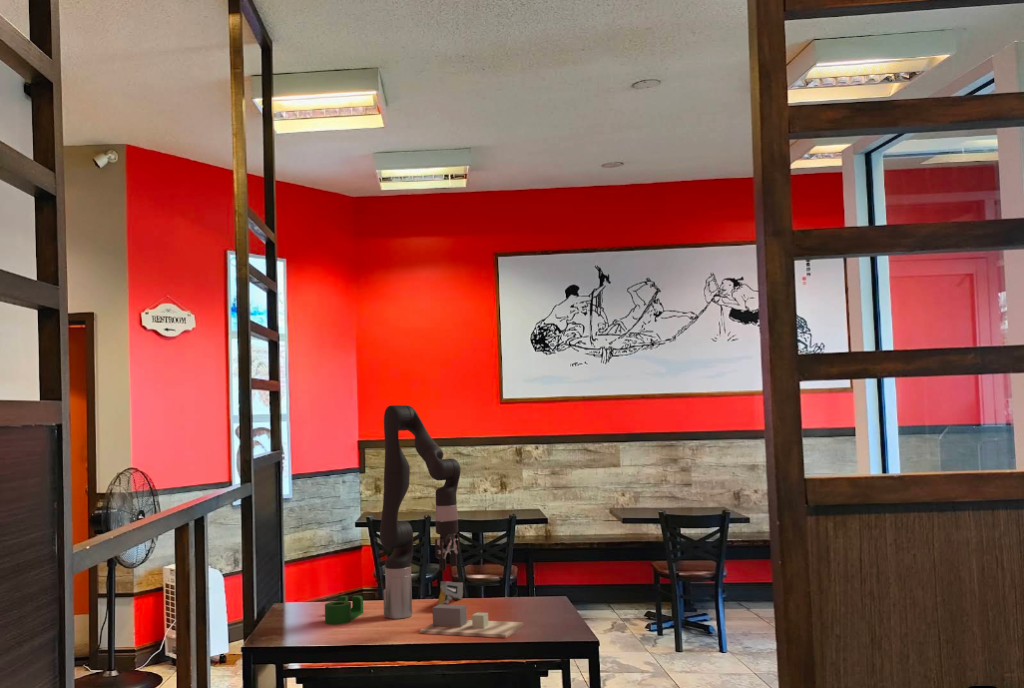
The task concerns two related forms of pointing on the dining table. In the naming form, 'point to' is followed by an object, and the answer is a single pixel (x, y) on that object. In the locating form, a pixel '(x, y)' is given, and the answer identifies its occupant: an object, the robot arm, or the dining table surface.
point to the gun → (450, 591)
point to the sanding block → (449, 616)
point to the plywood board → (477, 629)
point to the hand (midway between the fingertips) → (448, 568)
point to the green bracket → (343, 610)
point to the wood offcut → (479, 620)
